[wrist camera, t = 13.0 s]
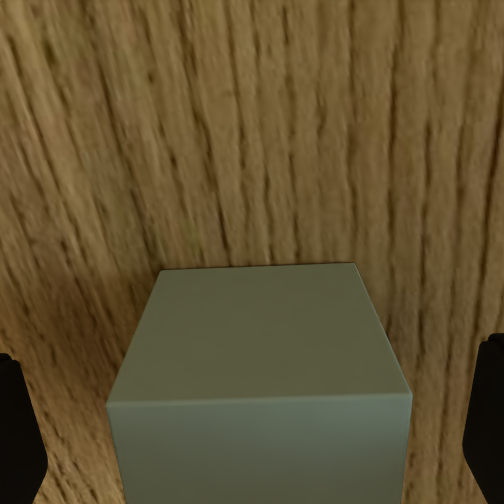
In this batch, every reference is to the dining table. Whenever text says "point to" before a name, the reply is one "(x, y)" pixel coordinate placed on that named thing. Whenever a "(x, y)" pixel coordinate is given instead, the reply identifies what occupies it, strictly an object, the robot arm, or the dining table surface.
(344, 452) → the block
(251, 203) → the dining table surface
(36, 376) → the dining table surface
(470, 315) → the dining table surface
